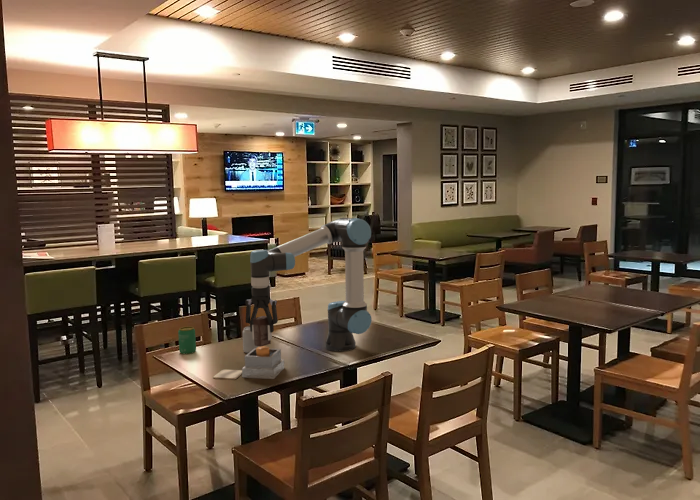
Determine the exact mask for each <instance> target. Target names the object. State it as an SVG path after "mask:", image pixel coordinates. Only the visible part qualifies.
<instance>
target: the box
mask: <svg viewBox="0 0 700 500" xmlns="http://www.w3.org/2000/svg"><path fill="white" fill-rule="evenodd" d="M268 325H269V322H268V319H267V316H266V315H262V316H259V317H258V316H256V318H253V328H254V344H255V346H259V347H262V346H267V345H271V344H272V342H271V340H272V339H271V340H268Z"/></svg>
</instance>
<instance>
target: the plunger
mask: <svg viewBox="0 0 700 500" xmlns="http://www.w3.org/2000/svg"><path fill="white" fill-rule="evenodd" d="M269 349H270V347H269V346H267V345H265V346H262V347H257V348H256V355H257V356H270V352H269Z"/></svg>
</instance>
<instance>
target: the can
mask: <svg viewBox="0 0 700 500" xmlns="http://www.w3.org/2000/svg"><path fill="white" fill-rule="evenodd" d="M257 347H259V346H255V344H254V340H253V337H252V332H251V331H250V326H245V327H243V330H242V349H243V350H242V351H243V352H244V353H246V354H248V353H249V352H251V351H252V350H253V349H254V348H257Z"/></svg>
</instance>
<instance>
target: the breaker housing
mask: <svg viewBox="0 0 700 500" xmlns="http://www.w3.org/2000/svg"><path fill="white" fill-rule="evenodd" d="M281 350H282V349H281V348H269V352H270V356H257V355H256V348H254V349H253V350H252V351H251V352H249V353H246V354H245V355H244V366H243V367H242V368H241V370H242V374H241V377H242V378H246V379H247V378H248V379H265V380H266V379H267V380H269V379H270V380H274V379H275V378H277V376H278V375H280V373H281V372H282V371H283V370H284V369H285V359H282V351H281Z"/></svg>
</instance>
